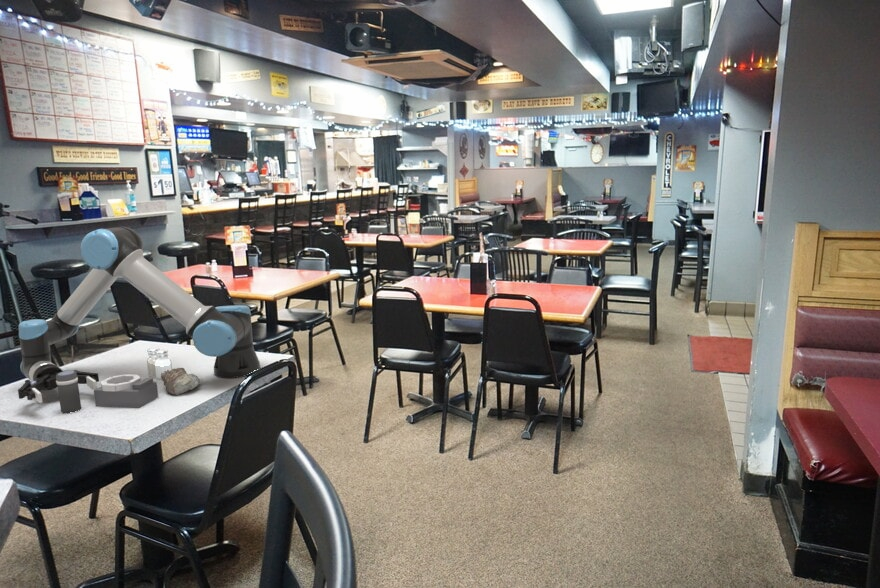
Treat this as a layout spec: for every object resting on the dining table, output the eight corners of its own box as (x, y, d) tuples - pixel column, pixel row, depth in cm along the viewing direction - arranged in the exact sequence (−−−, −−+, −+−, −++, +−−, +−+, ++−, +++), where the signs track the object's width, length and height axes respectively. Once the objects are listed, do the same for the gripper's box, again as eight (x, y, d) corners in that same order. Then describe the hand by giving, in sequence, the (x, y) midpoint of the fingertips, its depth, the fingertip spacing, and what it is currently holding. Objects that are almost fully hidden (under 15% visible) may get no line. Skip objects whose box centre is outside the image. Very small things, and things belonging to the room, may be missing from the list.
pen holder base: (159, 396, 178) (156, 375, 177) (138, 408, 169) (135, 386, 167) (117, 394, 180) (115, 373, 179) (94, 406, 171) (91, 384, 169)
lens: (86, 407, 171) (81, 370, 169) (72, 414, 166) (67, 376, 164) (70, 406, 171) (65, 369, 169) (56, 413, 166) (50, 375, 164)
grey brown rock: (206, 383, 181) (184, 359, 178) (180, 404, 177) (157, 380, 174) (199, 379, 193) (178, 356, 190) (174, 399, 189) (153, 376, 187)
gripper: (93, 377, 190) (117, 392, 176) (-2, 397, 172) (17, 416, 158) (90, 355, 189) (114, 369, 175) (-5, 373, 170) (13, 390, 157)
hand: (68, 391), depth 166 cm, fingers open, 13 cm apart
